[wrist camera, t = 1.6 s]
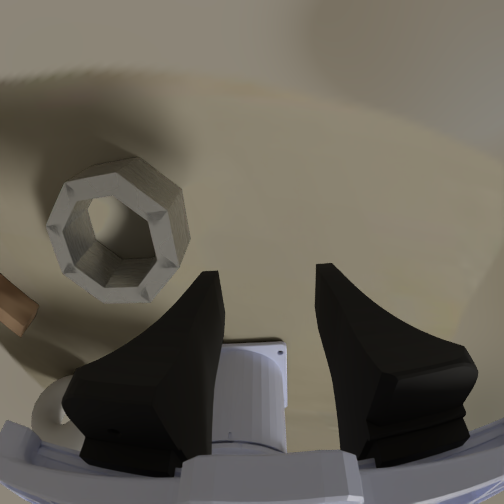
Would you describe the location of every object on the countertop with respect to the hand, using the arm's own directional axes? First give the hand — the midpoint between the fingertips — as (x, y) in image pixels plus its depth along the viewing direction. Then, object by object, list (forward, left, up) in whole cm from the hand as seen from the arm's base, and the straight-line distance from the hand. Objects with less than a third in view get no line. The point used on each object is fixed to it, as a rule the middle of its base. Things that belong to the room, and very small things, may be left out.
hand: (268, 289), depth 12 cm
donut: (-17, +20, -9) cm, 28 cm away
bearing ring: (0, +9, -8) cm, 12 cm away
